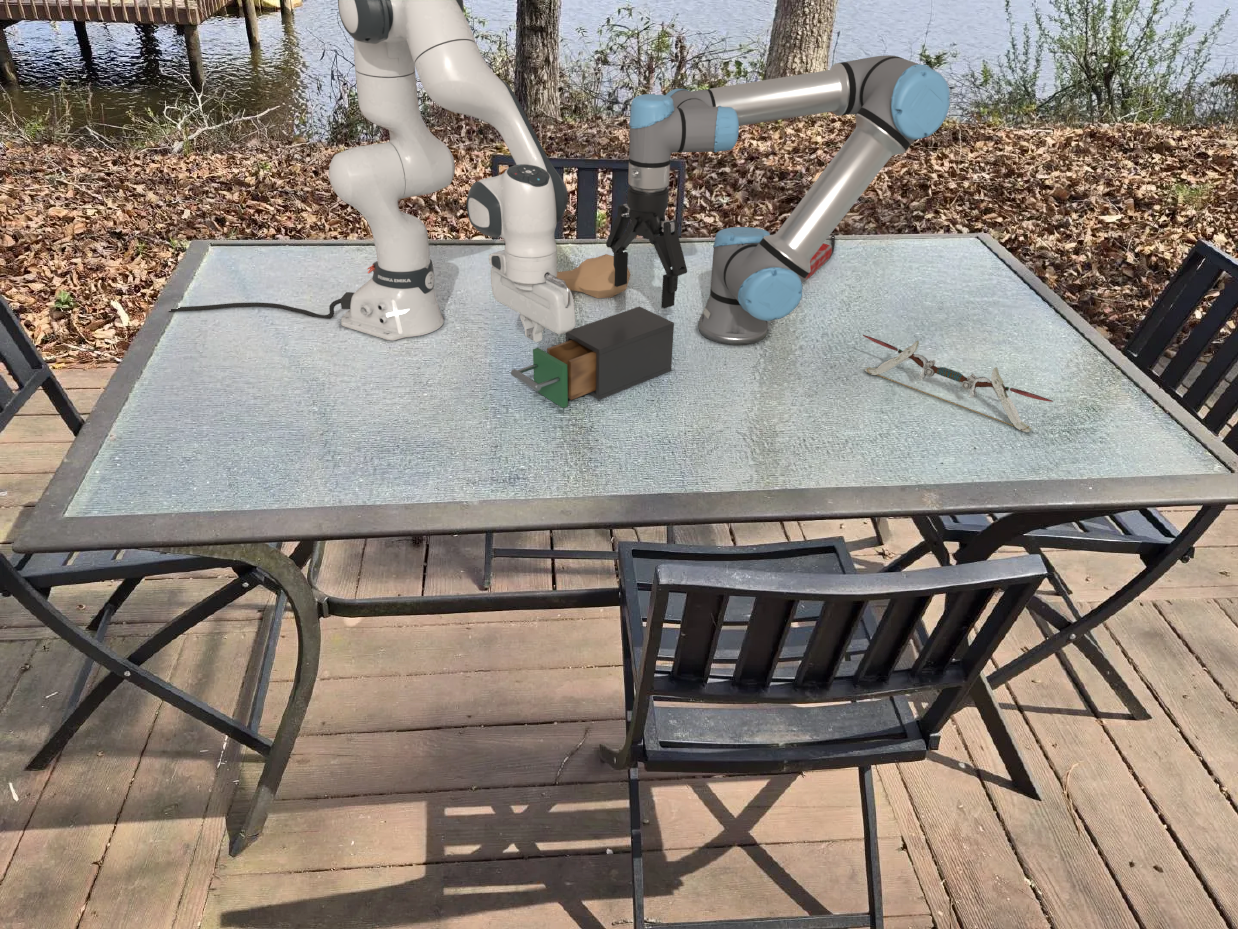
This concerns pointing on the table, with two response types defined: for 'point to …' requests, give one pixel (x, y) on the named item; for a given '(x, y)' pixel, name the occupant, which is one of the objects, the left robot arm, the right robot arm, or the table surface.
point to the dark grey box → (627, 349)
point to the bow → (967, 383)
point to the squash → (594, 277)
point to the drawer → (561, 372)
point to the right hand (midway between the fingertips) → (643, 295)
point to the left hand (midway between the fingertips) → (533, 338)
